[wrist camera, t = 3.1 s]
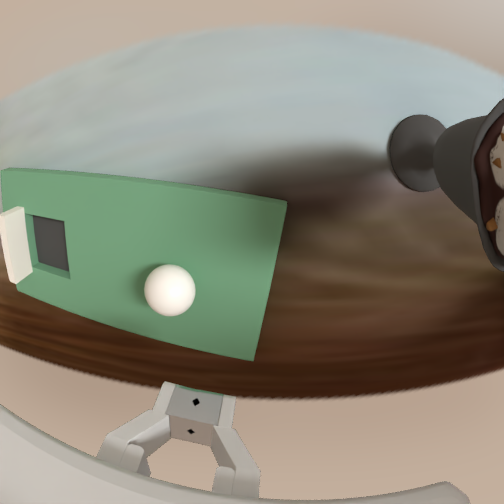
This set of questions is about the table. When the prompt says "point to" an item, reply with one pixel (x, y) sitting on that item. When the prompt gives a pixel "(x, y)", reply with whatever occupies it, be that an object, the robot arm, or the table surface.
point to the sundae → (458, 168)
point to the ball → (169, 290)
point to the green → (143, 252)
